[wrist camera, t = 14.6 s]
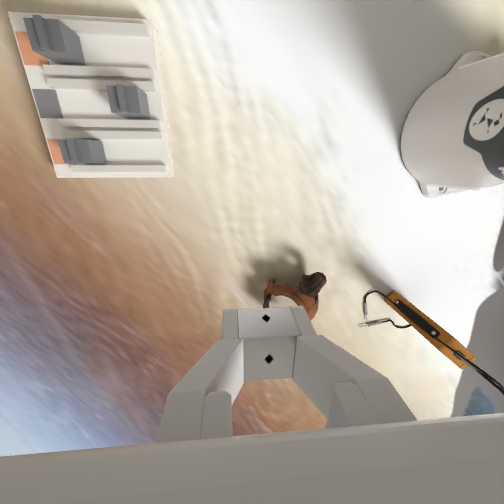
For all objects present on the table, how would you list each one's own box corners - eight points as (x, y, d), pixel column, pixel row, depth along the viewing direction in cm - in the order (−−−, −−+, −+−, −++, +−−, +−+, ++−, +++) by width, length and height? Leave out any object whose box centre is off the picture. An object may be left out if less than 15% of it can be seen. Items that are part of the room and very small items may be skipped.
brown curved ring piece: (302, 318, 46) (290, 346, 39) (265, 286, 47) (247, 308, 40) (344, 278, 39) (339, 303, 32) (300, 243, 41) (287, 260, 34)
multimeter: (343, 314, 46) (421, 421, 27) (381, 278, 43) (497, 368, 25) (386, 347, 50) (479, 457, 32) (423, 316, 48) (547, 415, 29)
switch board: (157, 31, 27) (148, 15, 24) (174, 175, 33) (169, 177, 30) (27, 24, 26) (0, 6, 23) (69, 176, 32) (53, 178, 29)
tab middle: (146, 94, 27) (134, 84, 23) (150, 117, 28) (138, 112, 24) (119, 93, 27) (102, 83, 23) (124, 117, 27) (108, 111, 24)
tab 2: (102, 141, 28) (83, 139, 25) (106, 162, 29) (89, 163, 25) (75, 141, 28) (53, 138, 24) (81, 162, 29) (60, 163, 25)
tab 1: (79, 36, 24) (53, 15, 21) (85, 64, 25) (62, 49, 22) (48, 35, 24) (17, 13, 21) (55, 63, 25) (27, 47, 21)
